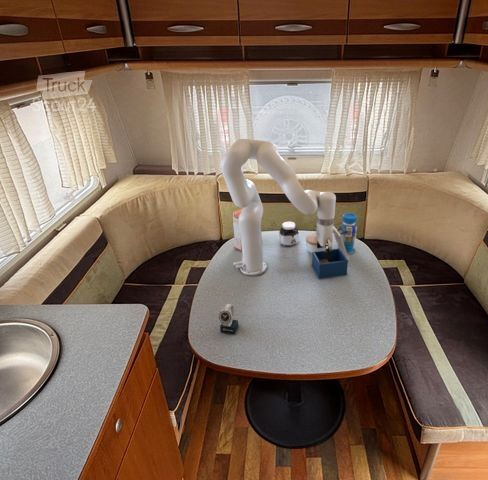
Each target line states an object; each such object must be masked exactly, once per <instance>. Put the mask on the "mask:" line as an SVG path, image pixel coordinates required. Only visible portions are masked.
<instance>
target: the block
mask: <svg viewBox="0 0 488 480" xmlns="http://www.w3.org/2000/svg"><path fill="white" fill-rule="evenodd" d="M319 261H320V263H321V264H322V263H329V262H328V260H327V259H320V260H319Z"/></svg>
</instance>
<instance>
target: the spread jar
mask: <svg viewBox="0 0 488 480" xmlns="http://www.w3.org/2000/svg"><path fill="white" fill-rule="evenodd" d="M281 226H282V227H281V228H279V231H278V238H279V242H280V244H281V245H283V246H284V247H287V248H289V247H294V246H295V245H298V242H299V239H300V237H299V230H298V228H297V227H296V223H295V222H293V221H284V222H283V223H282V224H281Z"/></svg>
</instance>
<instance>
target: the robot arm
mask: <svg viewBox="0 0 488 480" xmlns="http://www.w3.org/2000/svg"><path fill="white" fill-rule="evenodd" d="M248 160H255V161H257V163H258V165H259V166H260V167H261V168H262V169H263V170H264V171H265V172H266V173H267V174H268V175H269V176H270V177H271V178H272V179H273V180H274V181H275V183H277V185H279V187H280V189H281V191H282V192H283V193H284V194H285V196H286V197H287V199H288V200H289V201H290V203H291V204H292V205H293V206H294V207H295V208H296V209H297V210H298V211H299V212H300V213H301V214H302V215H306V216H312V215H314V214H315V213H317V215H316V230H315V233H316V239H317V248H323V247H324V250H325V251H324V259H330V258H331V250H332V249H333V236H334V233H333V226H332V225H334V224H335V216H336V215H335V213H336V201H337V196H336V194H335V193H334V192H331V191H318V190H314V189H306V190H305V189H304V188H303V187H302V185H301V183H300V181H299V178H298V176H297V174H296V172H295V169H293V167H291V166H290V165H289V164H288V162H286V161H285V159H284V158H283V157H282V156H281V155H280V154H279V148H278V146H277V144H275V143H274V142H272V141H270V140H269V141H267V140H260V139H259V140H258V139H250V138H239V139H237V140H236V141H234V142H233V144H232V145H230V146H229V148H228V149H227V151H226V152H225V153H224V154H223V155H222V157H221V159H220V163H219V168H220V172H221V175H222V177H223V180H224V183H225V185H226V188H227V190H228V193H229V195H230V197H231V200H232V202H233V204H234V205H235V206H236V207H237V208H239V209H242V211H241V214H240V216H239V228H240V233H241V242H242V251H241V252H242V253H241V254H242V258H241V260H240V261H235V262H234V261H233V263H232V264H233V267H236V269H240V272H241V273H242V274H243V275H246V276H258V275H261V274H263V273H265V272H266V270H267V263H266V262H265V261H264V253H263V251H264V250H263V237H262V235H263V234H262V218H263V215H264V206H263V203H262V200H261V198H260V193H259V191H258V189H257V187H256V185H255V183H254V182H253V181H251V180H250V179H247V178H246V176H245V174H244V171H243V170H242V167H243V166H244V165H245V164H246V163H247V162H248Z"/></svg>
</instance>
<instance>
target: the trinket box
mask: <svg viewBox="0 0 488 480" xmlns="http://www.w3.org/2000/svg"><path fill="white" fill-rule="evenodd" d="M305 246H306V249H307V250H308V252H310V254H312V252H315V251H322V250H325V249H324V247H323V248H317V239H316V232H314V233H310V234H308V235H306V237H305Z"/></svg>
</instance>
